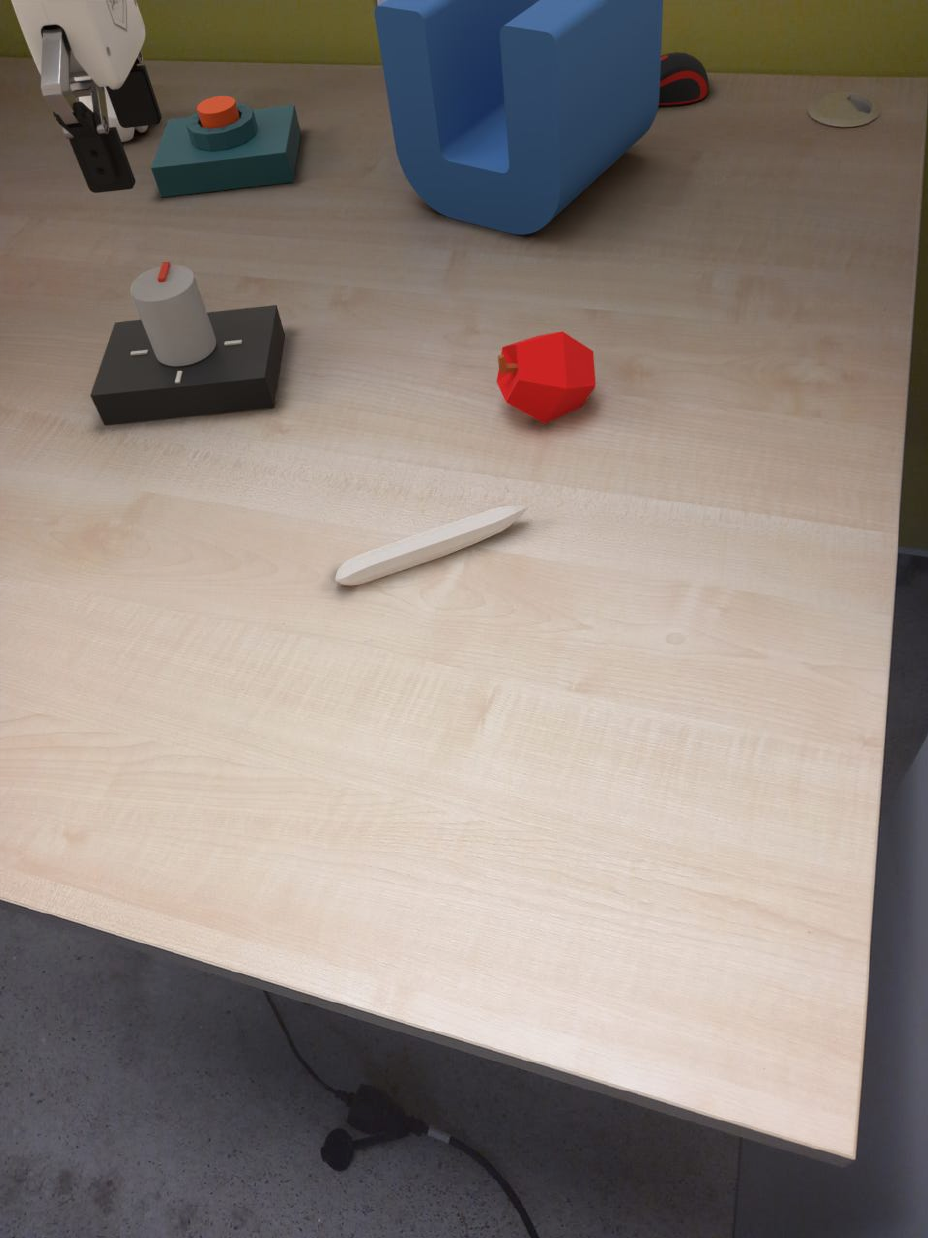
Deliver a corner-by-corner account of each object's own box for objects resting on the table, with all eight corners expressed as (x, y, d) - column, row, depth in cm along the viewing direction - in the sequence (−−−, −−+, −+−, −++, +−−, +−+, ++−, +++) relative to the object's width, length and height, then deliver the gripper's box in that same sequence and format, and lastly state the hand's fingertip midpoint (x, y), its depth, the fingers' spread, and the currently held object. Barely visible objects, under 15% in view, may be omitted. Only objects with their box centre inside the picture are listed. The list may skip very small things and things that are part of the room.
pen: (533, 527, 70) (532, 509, 69) (340, 594, 68) (335, 577, 67) (524, 512, 71) (523, 495, 70) (333, 578, 69) (328, 561, 68)
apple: (598, 308, 77) (499, 297, 74) (622, 374, 73) (520, 366, 71) (564, 374, 82) (471, 366, 79) (585, 438, 79) (489, 433, 76)
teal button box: (161, 197, 107) (144, 150, 103) (177, 148, 114) (162, 102, 110) (292, 182, 106) (281, 133, 102) (301, 133, 113) (290, 86, 109)
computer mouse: (600, 91, 112) (600, 52, 109) (699, 75, 112) (702, 36, 109) (612, 116, 108) (612, 76, 105) (715, 100, 108) (718, 60, 105)
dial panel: (104, 425, 83) (89, 393, 80) (127, 351, 89) (114, 320, 87) (274, 408, 82) (264, 375, 79) (285, 334, 88) (276, 302, 86)
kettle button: (199, 132, 105) (194, 115, 104) (204, 114, 108) (199, 97, 107) (237, 127, 105) (232, 110, 104) (241, 110, 108) (237, 93, 106)
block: (404, 205, 100) (373, 4, 87) (505, 125, 109) (490, -69, 95) (562, 246, 93) (554, 33, 79) (657, 157, 101) (665, -50, 88)
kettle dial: (212, 363, 81) (187, 293, 77) (150, 369, 82) (122, 300, 77) (220, 326, 85) (197, 257, 80) (161, 333, 85) (134, 264, 80)
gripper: (49, -90, 55) (156, 211, 68) (117, -176, 66) (198, 97, 79) (-84, -73, 56) (47, 222, 69) (6, -161, 67) (105, 107, 80)
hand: (128, 155), depth 74 cm, fingers open, 9 cm apart
